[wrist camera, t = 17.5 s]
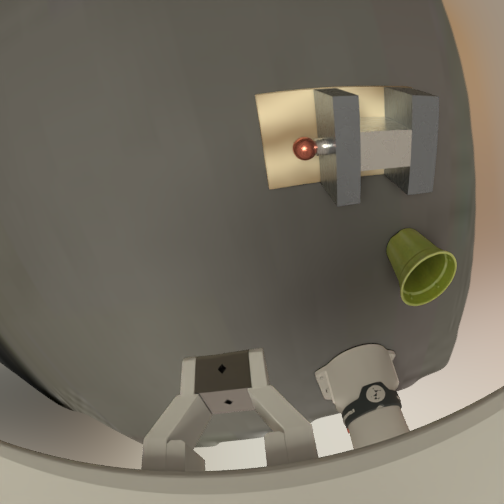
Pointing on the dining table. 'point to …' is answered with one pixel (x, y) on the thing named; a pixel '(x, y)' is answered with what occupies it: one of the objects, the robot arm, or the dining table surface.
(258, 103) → the vise board
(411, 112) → the fixed jaw
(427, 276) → the plant pot
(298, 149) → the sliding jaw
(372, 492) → the robot arm
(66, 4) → the dining table surface
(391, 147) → the block
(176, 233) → the dining table surface
